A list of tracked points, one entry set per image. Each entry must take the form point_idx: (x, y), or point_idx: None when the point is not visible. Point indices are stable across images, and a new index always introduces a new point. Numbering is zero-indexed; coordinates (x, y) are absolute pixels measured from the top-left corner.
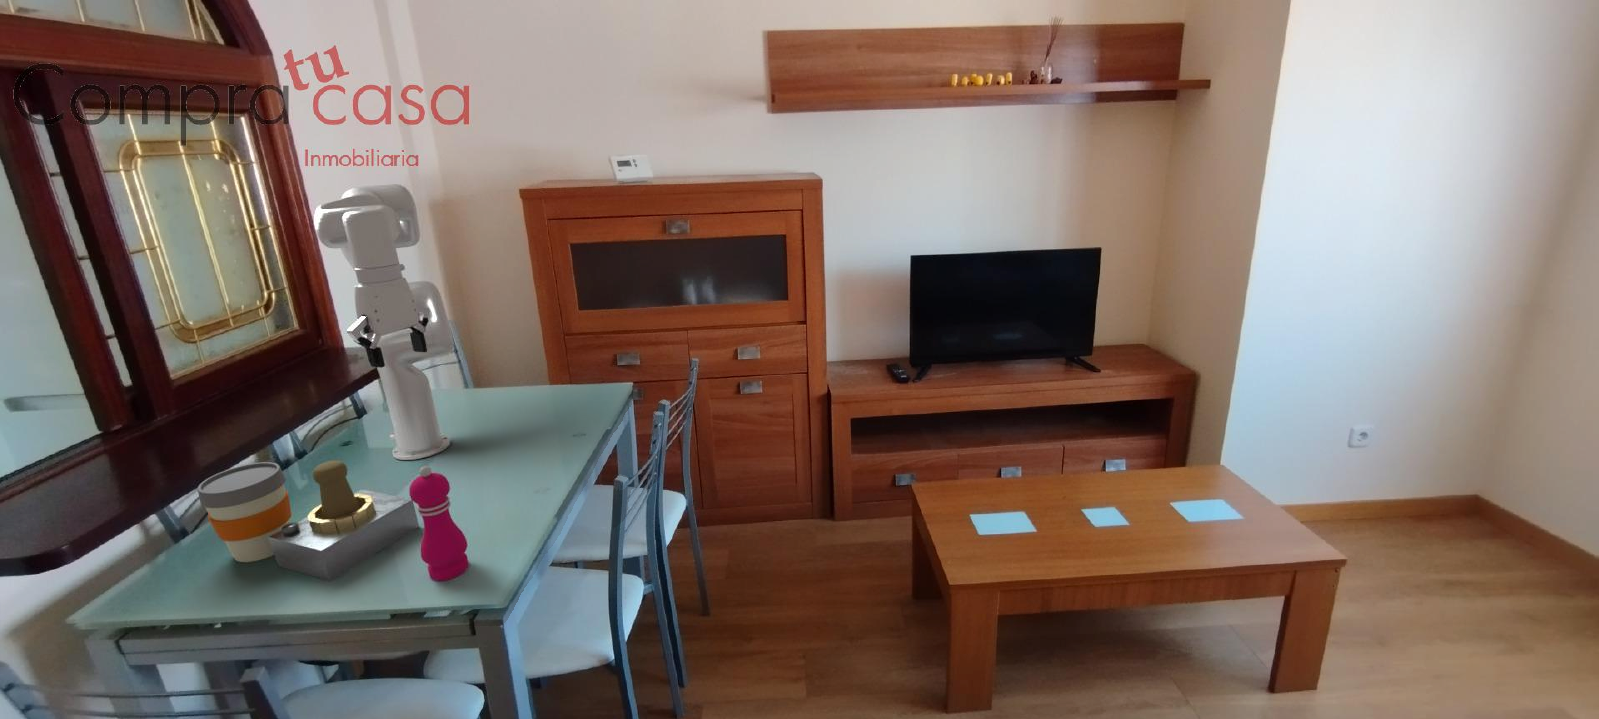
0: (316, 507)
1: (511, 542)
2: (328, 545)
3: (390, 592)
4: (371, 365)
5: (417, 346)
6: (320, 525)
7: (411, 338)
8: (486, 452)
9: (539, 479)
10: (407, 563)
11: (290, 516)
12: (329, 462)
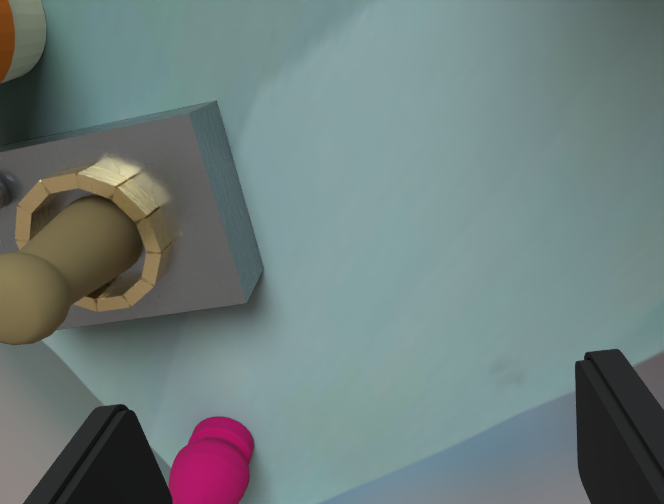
0: (41, 183)
1: (331, 461)
2: None
3: (136, 411)
4: (100, 411)
5: (598, 461)
6: None
7: (647, 484)
8: (654, 16)
9: (550, 327)
10: (187, 365)
11: (9, 65)
12: (3, 310)
